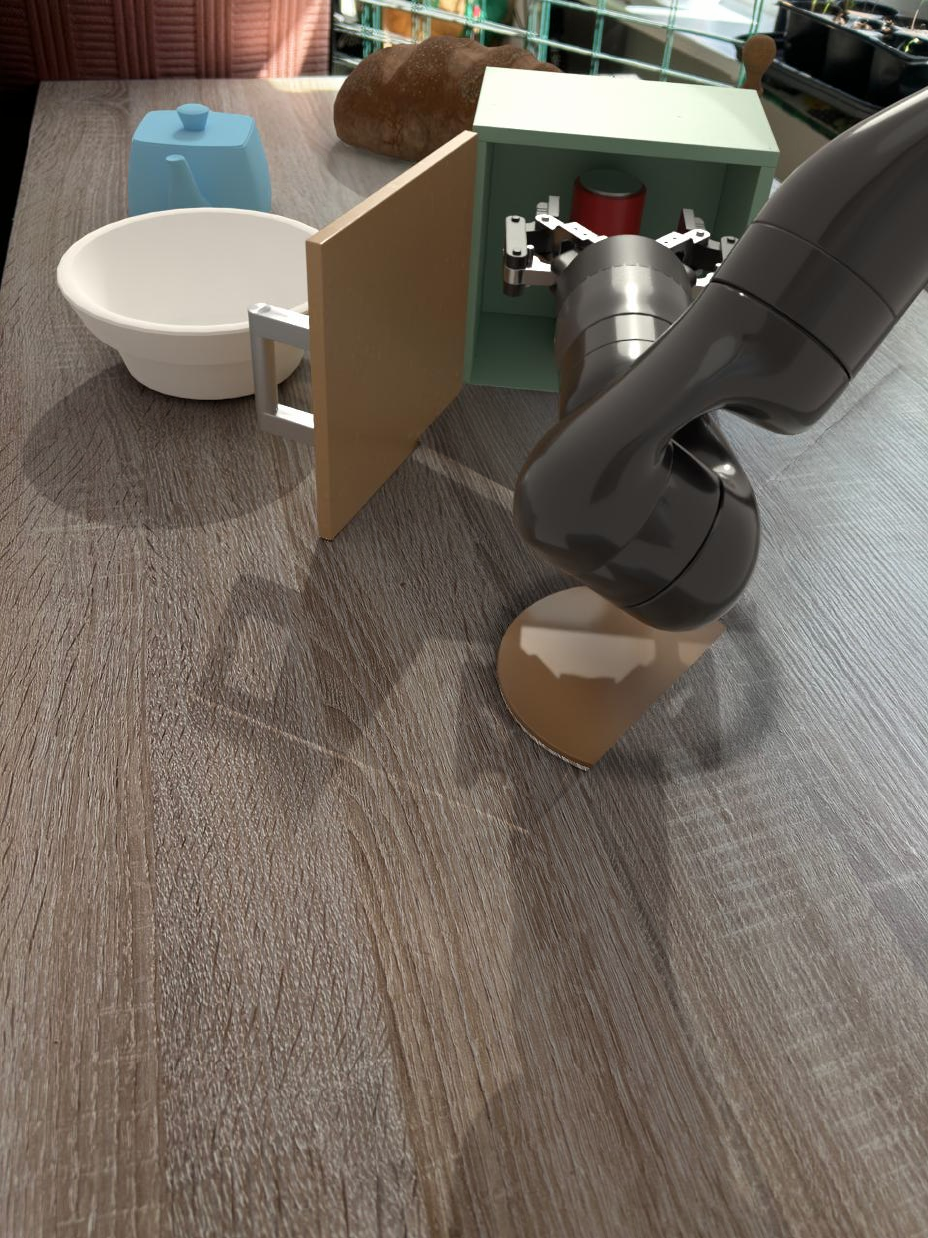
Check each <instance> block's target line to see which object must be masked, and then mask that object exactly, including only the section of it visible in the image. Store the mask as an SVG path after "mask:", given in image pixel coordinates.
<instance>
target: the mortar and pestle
mask: <svg viewBox="0 0 928 1238" xmlns="http://www.w3.org/2000/svg"><path fill="white" fill-rule="evenodd" d="M776 55H777V44H776V42H775V39H774V38H772V37H771V36H770V35H767V34H764V33H756V34H753V35H751V36H750V37H749V38H748V39H747V40H746V42H745V43H744V45H743V47H742V51H741V59H742V63H743V66H744V70H745V80H744V81H743V84H740V85H738V88H739V89H750V90H756V91H757V94H758V96H759V99H760V100H761V98H762V95H763V93H764V89H763V87H762V78H763V75H764V74H765V73H766V71H767V70H768V69H769V67H770V66H771V64H773V62H774V60H775V58H776Z"/></svg>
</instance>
